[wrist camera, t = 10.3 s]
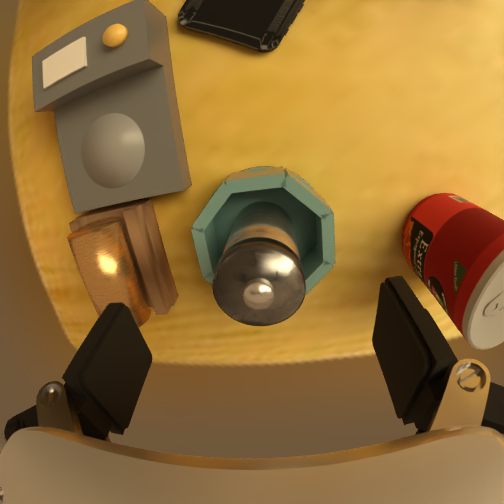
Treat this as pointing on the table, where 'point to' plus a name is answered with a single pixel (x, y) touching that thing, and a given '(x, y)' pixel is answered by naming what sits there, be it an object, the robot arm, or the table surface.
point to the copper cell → (109, 267)
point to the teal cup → (276, 191)
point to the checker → (114, 107)
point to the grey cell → (260, 267)
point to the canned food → (460, 263)
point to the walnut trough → (141, 249)
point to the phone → (242, 20)
